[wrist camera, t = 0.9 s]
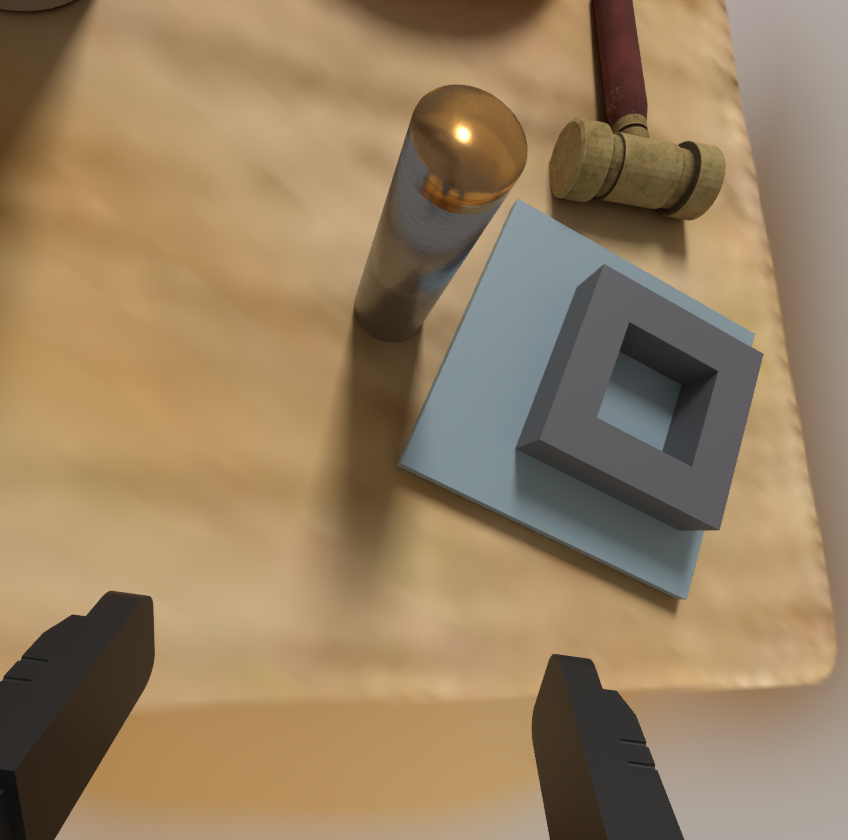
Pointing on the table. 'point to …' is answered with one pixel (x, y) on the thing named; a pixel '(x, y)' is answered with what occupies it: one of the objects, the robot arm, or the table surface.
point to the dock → (507, 389)
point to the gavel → (631, 139)
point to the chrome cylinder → (437, 205)
